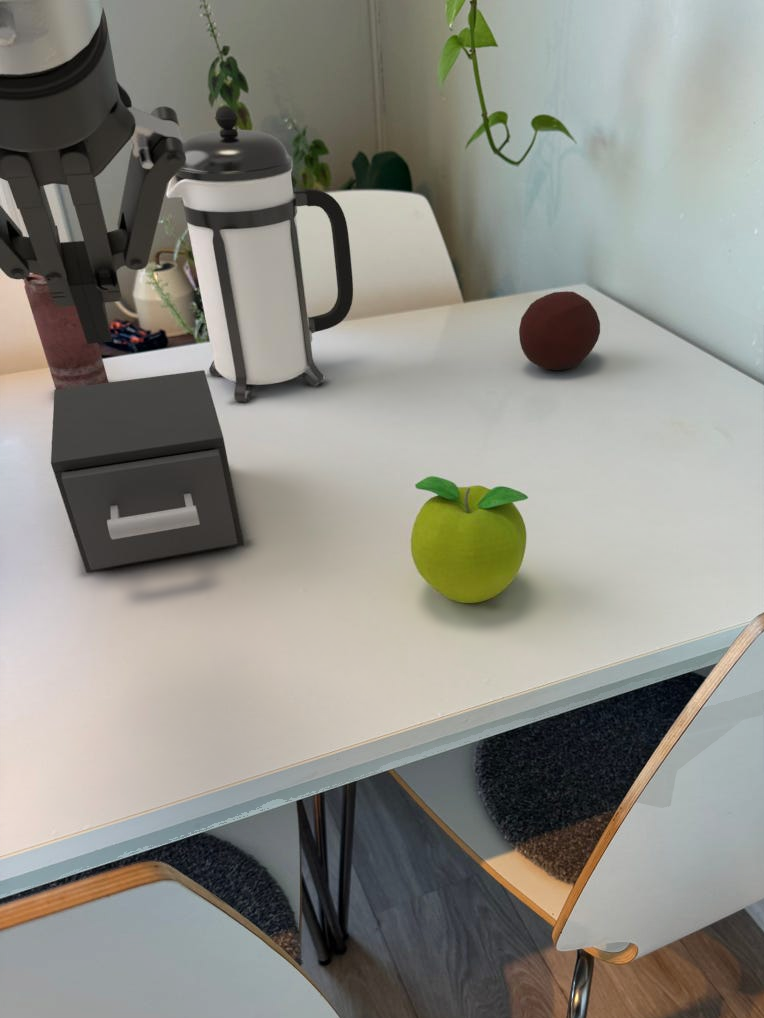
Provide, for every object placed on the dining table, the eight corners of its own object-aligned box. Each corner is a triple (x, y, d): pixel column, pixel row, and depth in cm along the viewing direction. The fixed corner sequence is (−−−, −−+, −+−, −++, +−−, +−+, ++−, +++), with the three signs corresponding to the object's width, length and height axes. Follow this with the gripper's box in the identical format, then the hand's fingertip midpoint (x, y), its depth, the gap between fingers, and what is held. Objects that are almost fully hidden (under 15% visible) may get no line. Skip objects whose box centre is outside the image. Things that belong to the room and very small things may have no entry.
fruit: (434, 555, 83) (430, 454, 77) (535, 571, 81) (538, 469, 75) (398, 613, 76) (390, 508, 70) (507, 633, 74) (508, 525, 68)
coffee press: (300, 412, 108) (261, 121, 89) (182, 395, 112) (121, 113, 93) (362, 359, 120) (339, 95, 102) (254, 346, 125) (213, 90, 106)
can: (62, 384, 115) (27, 268, 106) (114, 382, 115) (84, 266, 107) (50, 404, 110) (12, 284, 101) (104, 402, 110) (71, 282, 102)
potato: (502, 368, 118) (502, 294, 112) (567, 345, 124) (571, 274, 118) (550, 388, 113) (553, 312, 107) (616, 363, 119) (622, 290, 113)
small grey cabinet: (244, 545, 85) (223, 437, 78) (86, 573, 81) (50, 462, 75) (224, 469, 97) (204, 369, 90) (85, 491, 93) (54, 389, 86)
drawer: (244, 569, 80) (225, 477, 74) (91, 597, 77) (60, 503, 71) (219, 472, 94) (202, 389, 89) (89, 493, 91) (63, 408, 85)
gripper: (-174, 93, 34) (-6, 389, 56) (192, 84, 37) (212, 366, 60) (-201, -81, 35) (-26, 278, 57) (157, -72, 38) (190, 262, 61)
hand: (96, 323), depth 58 cm, fingers closed
